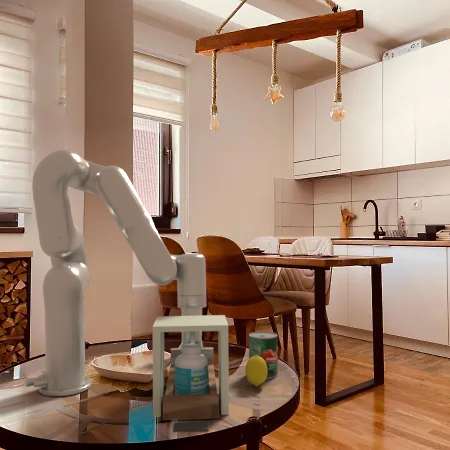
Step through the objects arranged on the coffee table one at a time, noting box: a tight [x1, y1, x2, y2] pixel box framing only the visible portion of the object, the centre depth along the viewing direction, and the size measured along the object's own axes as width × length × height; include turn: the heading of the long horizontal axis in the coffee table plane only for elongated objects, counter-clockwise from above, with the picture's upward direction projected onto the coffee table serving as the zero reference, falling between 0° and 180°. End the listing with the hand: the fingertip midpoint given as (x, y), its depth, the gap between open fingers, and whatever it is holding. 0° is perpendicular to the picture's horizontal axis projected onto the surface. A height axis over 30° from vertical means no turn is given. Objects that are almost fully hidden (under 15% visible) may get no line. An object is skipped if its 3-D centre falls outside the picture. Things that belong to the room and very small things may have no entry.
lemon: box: [245, 355, 267, 388], centre depth 119 cm, size 6×6×8 cm
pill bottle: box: [175, 344, 208, 395], centre depth 106 cm, size 8×7×14 cm
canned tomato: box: [248, 331, 279, 380], centre depth 128 cm, size 8×8×11 cm
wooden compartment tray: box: [162, 346, 220, 421], centre depth 113 cm, size 32×12×7 cm, turn 4°
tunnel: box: [152, 314, 230, 418], centre depth 106 cm, size 12×16×19 cm
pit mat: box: [172, 420, 209, 433], centre depth 94 cm, size 4×7×1 cm, turn 94°
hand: (193, 370), depth 123 cm, fingers closed
